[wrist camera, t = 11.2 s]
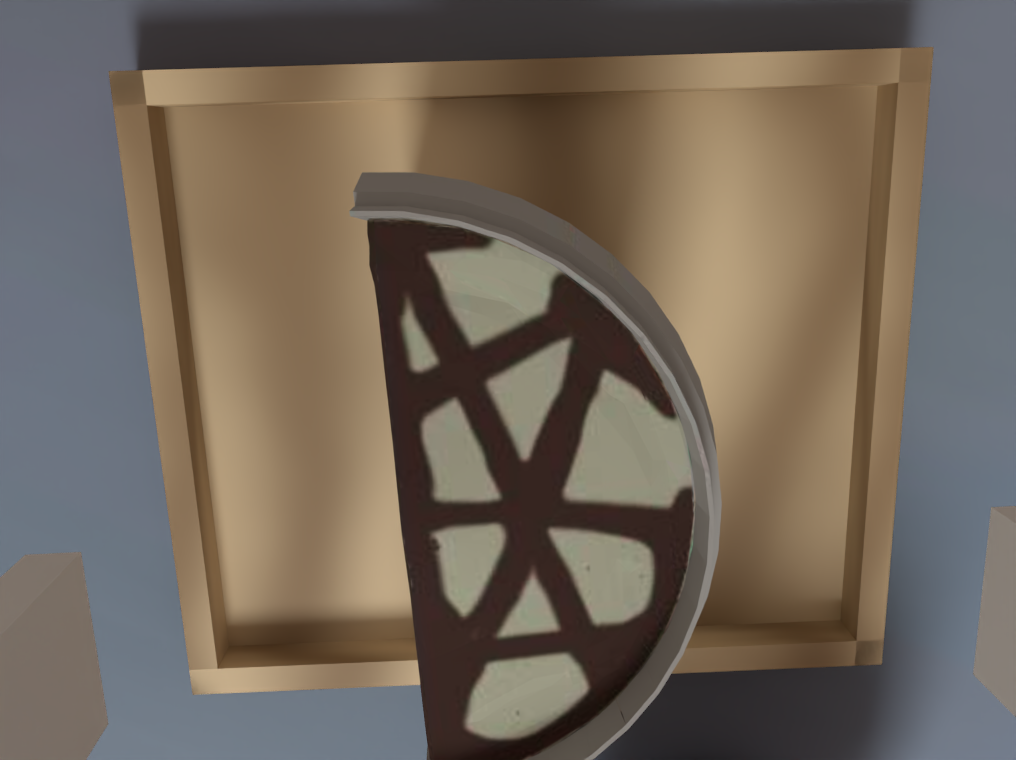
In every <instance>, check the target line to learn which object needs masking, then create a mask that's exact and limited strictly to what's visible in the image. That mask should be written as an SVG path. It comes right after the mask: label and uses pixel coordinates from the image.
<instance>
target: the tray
mask: <svg viewBox="0 0 1016 760" xmlns="http://www.w3.org/2000/svg"><path fill="white" fill-rule="evenodd" d="M932 59H933V47H921V48H887V49H853V50H819V51H785V52H750V53H716V54H682V55H648V56H614V57H580V58H546V59H511V60H477V61H443V62H409V63H375V64H341V65H307V66H273V67H238V68H204V69H170V70H136V71H109V78H110V86H111V93H112V100H113V108H114V115H115V123H116V130H117V137H118V145H119V152H120V160H121V167H122V174H123V182H124V189H125V197H126V204H127V211H128V219H129V226H130V234H131V241H132V248H133V256H134V263H135V271H136V278H137V285H138V293H139V300H140V308H141V315H142V322H143V330H144V337H145V345H146V352H147V359H148V367H149V374H150V382H151V389H152V397H153V404H154V411H155V419H156V426H157V434H158V441H159V448H160V456H161V463H162V471H163V478H164V485H165V493H166V500H167V508H168V515H169V522H170V530H171V537H172V545H173V552H174V559H175V567H176V574H177V582H178V589H179V596H180V604H181V611H182V619H183V626H184V633H185V641H186V648H187V656H188V663H189V671H190V678H191V685H192V693H193V695H197V694H220V693H242V692H265V691H288V690H311V689H334V688H357V687H379V686H402V685H420V676H419V668H418V659H417V651H416V642H415V633H414V625H413V616H412V607H411V598H410V590H409V583H408V576H407V569H406V561H405V554H404V547H403V540H402V532H401V522H400V512H399V502H398V492H397V482H396V472H395V462H394V452H393V441H392V432H391V424H390V415H389V406H388V398H387V389H386V380H385V371H384V362H383V353H382V343H381V334H380V325H379V315H378V308H377V300H376V293H375V286H374V281H373V278H372V274H371V270H370V266H369V241H368V235H367V220H363V219H359V218H355V217H351V216H350V213H349V211H350V210H351V209H352V208H353V207H354V206H355V203H354V196H353V191H354V189H355V187H356V184H357V182H358V180H359V178H360V176H361V174H362V172H414V173H420V174H426V175H433V176H439V177H446V178H452V179H458V180H465V181H470V182H473V183H476V184H479V185H482V186H485V187H488V188H491V189H494V190H497V191H500V192H504V193H507V194H510V195H513V196H516V197H519V198H522V199H524V200H525V201H527V202H529V203H531V204H533V205H535V206H537V207H539V208H541V209H543V210H545V211H547V212H549V213H551V214H553V215H555V216H557V217H559V218H561V219H563V220H565V221H567V222H569V223H570V224H572V225H573V226H574V227H576V228H577V229H578V230H580V231H581V232H582V233H584V234H585V235H587V236H588V237H589V238H591V239H592V240H593V241H595V242H596V243H597V244H599V245H600V246H602V247H603V248H604V249H606V250H607V251H608V252H610V253H611V254H612V255H613V256H614V257H615V258H616V259H617V260H618V261H619V262H620V263H621V264H622V265H623V266H624V267H625V268H626V269H627V270H628V271H629V272H630V273H631V274H632V275H633V276H634V277H635V278H636V279H637V280H638V281H639V282H640V283H641V284H642V285H643V286H644V287H645V288H646V289H647V290H648V291H649V292H650V294H651V295H652V297H653V298H654V299H655V301H656V302H657V304H658V305H659V307H660V308H661V309H662V311H663V312H664V314H665V315H666V317H667V318H668V319H669V321H670V322H671V324H672V325H673V327H674V328H675V329H676V331H677V332H678V334H679V336H680V338H681V340H682V342H683V344H684V346H685V348H686V350H687V353H688V355H689V357H690V359H691V361H692V363H693V365H694V367H695V369H696V372H697V374H698V376H699V378H700V381H701V384H702V388H703V391H704V395H705V398H706V402H707V405H708V409H709V412H710V416H711V420H712V423H713V428H714V436H715V444H716V452H717V461H718V471H719V481H720V491H721V501H722V508H721V522H720V537H719V551H718V556H717V560H716V564H715V568H714V572H713V576H712V581H711V585H710V589H709V593H708V597H707V600H706V602H705V604H704V607H703V609H702V612H701V614H700V616H699V619H698V621H697V623H696V626H695V628H694V631H693V633H692V635H691V638H690V640H689V642H688V644H687V647H686V649H685V651H684V654H683V656H682V657H681V659H680V660H679V662H678V664H677V665H676V667H675V668H674V670H673V672H672V673H671V674H676V673H699V672H722V671H745V670H767V669H790V668H813V667H836V666H859V665H881V664H882V656H883V644H884V632H885V620H886V608H887V596H888V584H889V572H890V560H891V548H892V536H893V524H894V512H895V501H896V489H897V477H898V465H899V453H900V441H901V429H902V417H903V405H904V393H905V381H906V369H907V357H908V345H909V333H910V322H911V310H912V298H913V286H914V274H915V262H916V250H917V238H918V226H919V214H920V202H921V190H922V178H923V166H924V155H925V143H926V131H927V119H928V107H929V95H930V83H931V71H932Z"/></svg>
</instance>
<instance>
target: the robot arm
mask: <svg viewBox="0 0 1016 760" xmlns="http://www.w3.org/2000/svg"><path fill="white" fill-rule="evenodd" d="M973 674H974V676H975V677H976V678H977V679H978V680H979V681H980V682H981V683H982V684H983V685H984V686H985V687H986V688H987V689H988V690H989V691H990V692H991V693H992V694H993V695H994V696H995V697H996V698H997V699H998V700H999V701H1000V702H1001V703H1002V704H1003V705H1004V706H1005V707H1006V708H1007V709H1008V710H1009V711H1010V712H1011V713H1012V714H1013V715H1014V716H1015V717H1016V506H1007V507H991V516H990V525H989V534H988V543H987V552H986V562H985V571H984V580H983V589H982V598H981V608H980V617H979V626H978V635H977V645H976V654H975V663H974V672H973ZM107 725H108V719H107V713H106V706H105V700H104V694H103V688H102V681H101V675H100V669H99V663H98V656H97V650H96V644H95V638H94V631H93V625H92V619H91V612H90V606H89V600H88V594H87V587H86V581H85V575H84V569H83V562H82V556H81V552H73V553H53V554H33V555H25V556H23V557H22V558H21V559H20V560H19V561H18V562H17V563H16V564H15V565H14V566H13V567H11V568H10V569H9V570H8V571H7V572H6V573H5V574H4V575H3V576H2V577H1V578H0V760H86V759H87V757H88V756H89V754H90V752H91V751H92V749H93V748H94V746H95V744H96V743H97V741H98V739H99V738H100V736H101V735H102V733H103V731H104V730H105V728H106V727H107Z"/></svg>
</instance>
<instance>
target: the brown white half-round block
mask: <svg viewBox="0 0 1016 760" xmlns="http://www.w3.org/2000/svg"><path fill="white" fill-rule="evenodd" d="M353 196H354V203H355V206H354V207H353V208H352V209H351V210H350V211H349V213H350V216H351V217H355V218H359V219H363V220H367V235H368V241H369V266H370V270H371V274H372V278H373V281H374V286H375V293H376V300H377V308H378V315H379V325H380V334H381V343H382V353H383V362H384V371H385V380H386V389H387V398H388V406H389V415H390V424H391V432H392V441H393V452H394V462H395V472H396V482H397V492H398V502H399V512H400V522H401V532H402V540H403V547H404V554H405V561H406V569H407V576H408V583H409V590H410V598H411V607H412V616H413V625H414V633H415V642H416V651H417V659H418V668H419V676H420V685H421V694H422V702H423V711H424V719H425V727H426V735H427V743H428V748H427V760H593V759H594V758H596V757H597V756H598V755H599V754H600V753H601V752H602V751H604V750H605V749H606V748H607V747H608V746H609V745H611V744H612V743H613V742H614V741H615V740H616V739H618V738H619V737H620V736H621V735H622V734H623V733H624V732H626V731H627V730H628V729H629V728H630V727H631V726H632V725H633V723H634V722H635V721H636V720H637V719H638V717H639V716H640V715H641V714H642V713H643V712H644V710H645V709H646V708H647V707H648V706H649V705H650V703H651V702H652V701H653V700H654V699H655V698H656V696H657V695H658V694H659V693H660V691H661V690H662V688H663V686H664V685H665V683H666V681H667V680H668V678H669V677H670V675H671V673H672V672H673V670H674V668H675V667H676V665H677V664H678V662H679V660H680V659H681V657H682V656H683V654H684V651H685V649H686V647H687V644H688V642H689V640H690V638H691V635H692V633H693V631H694V628H695V626H696V623H697V621H698V619H699V616H700V614H701V612H702V609H703V607H704V604H705V602H706V600H707V597H708V593H709V589H710V585H711V581H712V576H713V572H714V568H715V564H716V560H717V556H718V551H719V537H720V522H721V508H722V501H721V491H720V481H719V471H718V461H717V452H716V444H715V436H714V428H713V423H712V420H711V416H710V412H709V409H708V405H707V402H706V398H705V395H704V391H703V388H702V384H701V381H700V378H699V376H698V374H697V372H696V369H695V367H694V365H693V363H692V361H691V359H690V357H689V355H688V353H687V350H686V348H685V346H684V344H683V342H682V340H681V338H680V336H679V334H678V332H677V331H676V329H675V328H674V327H673V325H672V324H671V322H670V321H669V319H668V318H667V317H666V315H665V314H664V312H663V311H662V309H661V308H660V307H659V305H658V304H657V302H656V301H655V299H654V298H653V297H652V295H651V294H650V292H649V291H648V290H647V289H646V288H645V287H644V286H643V285H642V284H641V283H640V282H639V281H638V280H637V279H636V278H635V277H634V276H633V275H632V274H631V273H630V272H629V271H628V270H627V269H626V268H625V267H624V266H623V265H622V264H621V263H620V262H619V261H618V260H617V259H616V258H615V257H614V256H613V255H612V254H611V253H610V252H608V251H607V250H606V249H604V248H603V247H602V246H600V245H599V244H597V243H596V242H595V241H593V240H592V239H591V238H589V237H588V236H587V235H585V234H584V233H582V232H581V231H580V230H578V229H577V228H576V227H574V226H573V225H572V224H570V223H569V222H567V221H565V220H563V219H561V218H559V217H557V216H555V215H553V214H551V213H549V212H547V211H545V210H543V209H541V208H539V207H537V206H535V205H533V204H531V203H529V202H527V201H525V200H524V199H522V198H519V197H516V196H513V195H510V194H507V193H504V192H500V191H497V190H494V189H491V188H488V187H485V186H482V185H479V184H476V183H473V182H470V181H465V180H458V179H452V178H446V177H439V176H433V175H426V174H420V173H414V172H362V174H361V176H360V178H359V180H358V182H357V184H356V187H355V189H354V191H353Z"/></svg>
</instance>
